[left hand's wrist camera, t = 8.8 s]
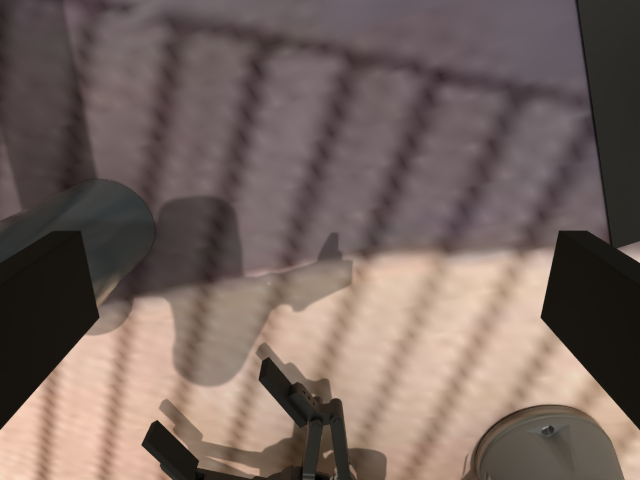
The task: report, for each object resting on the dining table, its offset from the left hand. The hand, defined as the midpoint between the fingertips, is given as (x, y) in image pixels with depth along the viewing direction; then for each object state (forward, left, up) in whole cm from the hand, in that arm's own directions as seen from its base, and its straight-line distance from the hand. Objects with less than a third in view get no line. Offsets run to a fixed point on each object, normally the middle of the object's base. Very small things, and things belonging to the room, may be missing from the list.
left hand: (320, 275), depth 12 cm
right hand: (+23, -11, -21) cm, 33 cm away
